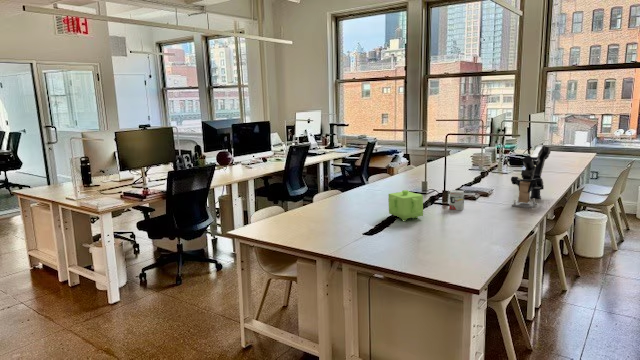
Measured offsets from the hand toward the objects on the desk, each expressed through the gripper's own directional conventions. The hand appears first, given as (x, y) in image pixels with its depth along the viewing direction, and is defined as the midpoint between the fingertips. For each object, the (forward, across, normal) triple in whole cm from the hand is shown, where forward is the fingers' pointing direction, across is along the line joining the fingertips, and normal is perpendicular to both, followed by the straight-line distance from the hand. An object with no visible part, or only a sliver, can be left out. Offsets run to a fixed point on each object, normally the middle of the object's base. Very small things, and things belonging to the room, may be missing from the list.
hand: (523, 192), depth 284 cm
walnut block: (+4, 0, +6) cm, 7 cm away
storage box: (+50, -51, -37) cm, 81 cm away
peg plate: (+5, 0, +7) cm, 9 cm away
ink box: (+26, -33, -13) cm, 44 cm away
